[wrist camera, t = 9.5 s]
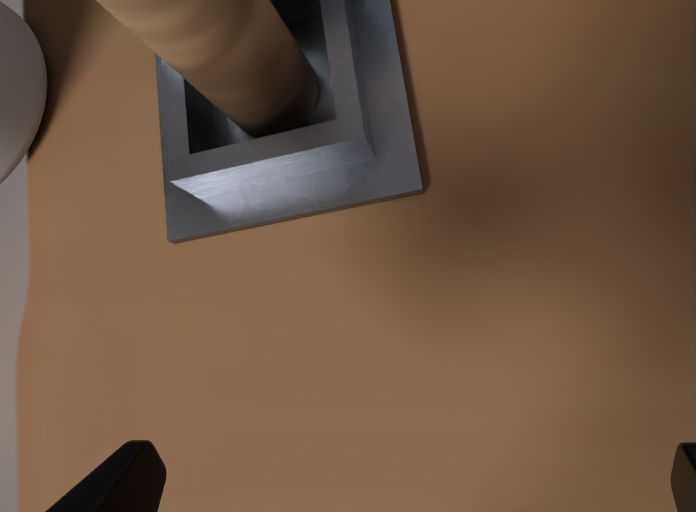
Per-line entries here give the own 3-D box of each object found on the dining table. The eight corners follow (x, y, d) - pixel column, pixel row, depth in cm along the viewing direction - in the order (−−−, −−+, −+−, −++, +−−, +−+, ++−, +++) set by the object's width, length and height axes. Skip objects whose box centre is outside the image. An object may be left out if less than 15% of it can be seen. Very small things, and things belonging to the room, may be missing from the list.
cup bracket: (423, 193, 23) (393, 97, 15) (174, 243, 26) (21, 187, 17) (382, -43, 26) (335, -243, 17) (159, 23, 28) (19, -123, 20)
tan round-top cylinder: (267, 162, 25) (15, -49, 12) (209, 98, 26) (-73, -153, 13) (342, 89, 24) (167, -212, 11) (279, 29, 26) (60, -300, 13)
